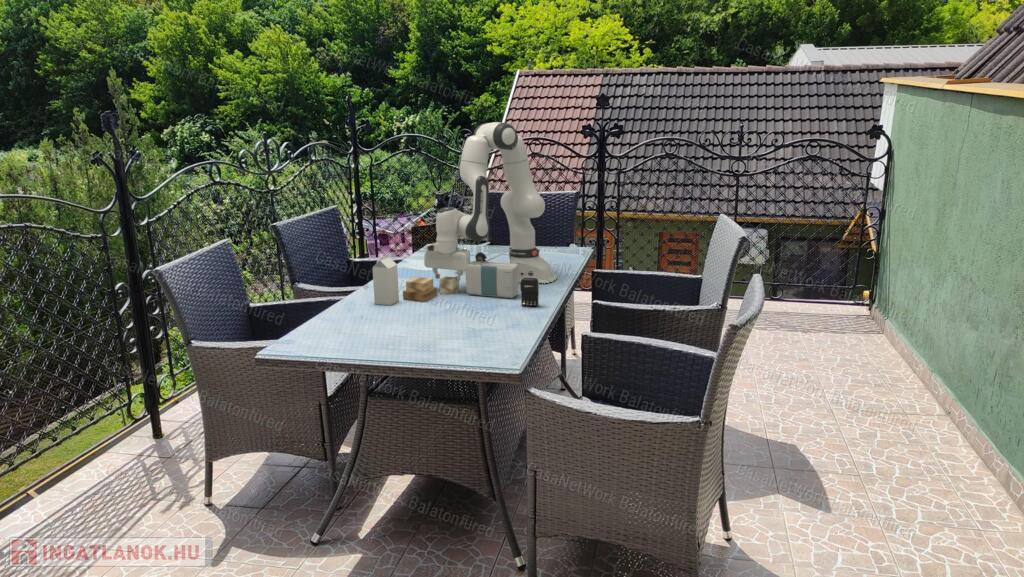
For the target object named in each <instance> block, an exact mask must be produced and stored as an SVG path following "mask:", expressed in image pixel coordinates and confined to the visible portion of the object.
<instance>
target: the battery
mask: <svg viewBox="0 0 1024 577" xmlns="http://www.w3.org/2000/svg"><path fill="white" fill-rule="evenodd" d="M519 287H520V292H521V293H520V294H521V306H522V307H526V306H537V307H538V306H539V305H540V304H539V303H540V302H539V301H540V300H539V298H540V284H539V280H538V278H536V277H523V278H522V280H521V283H520V286H519Z"/></svg>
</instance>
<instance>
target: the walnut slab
mask: <svg viewBox="0 0 1024 577" xmlns="http://www.w3.org/2000/svg"><path fill="white" fill-rule="evenodd" d="M402 296H403V297H402V298H403V299H402V300H403V301H410V302H418V303H419V302H420V303H427V302H429V301H430V300H432V299H435V298H437V297H438V287H435V286H433V289H431V290H429V291H427V292H425V293H420V292H410V291H406V289H405V290H403V291H402ZM436 296H437V297H436ZM434 297H435V298H434Z"/></svg>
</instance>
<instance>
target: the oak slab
mask: <svg viewBox="0 0 1024 577" xmlns="http://www.w3.org/2000/svg"><path fill="white" fill-rule="evenodd" d="M405 287H406V289H405V290H406V291H410V292H420V293H425V292H427V291H429V290H431V289H433V287H434V278H430V277H422V276H421V277H420V276H414V277H413V278H411V279H408V280H406V281H405Z"/></svg>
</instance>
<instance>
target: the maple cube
mask: <svg viewBox="0 0 1024 577" xmlns="http://www.w3.org/2000/svg"><path fill="white" fill-rule="evenodd" d="M455 277H456V276H447V275H446V276H443V277H442V278H439V279H438V280H439V281H438V282H439V294H441V293H443V295H451V294H453V295H455V294H457V293H459V292H460V281H456V280H455ZM458 291H459V292H458ZM456 292H457V293H456ZM454 293H455V294H454Z"/></svg>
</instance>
